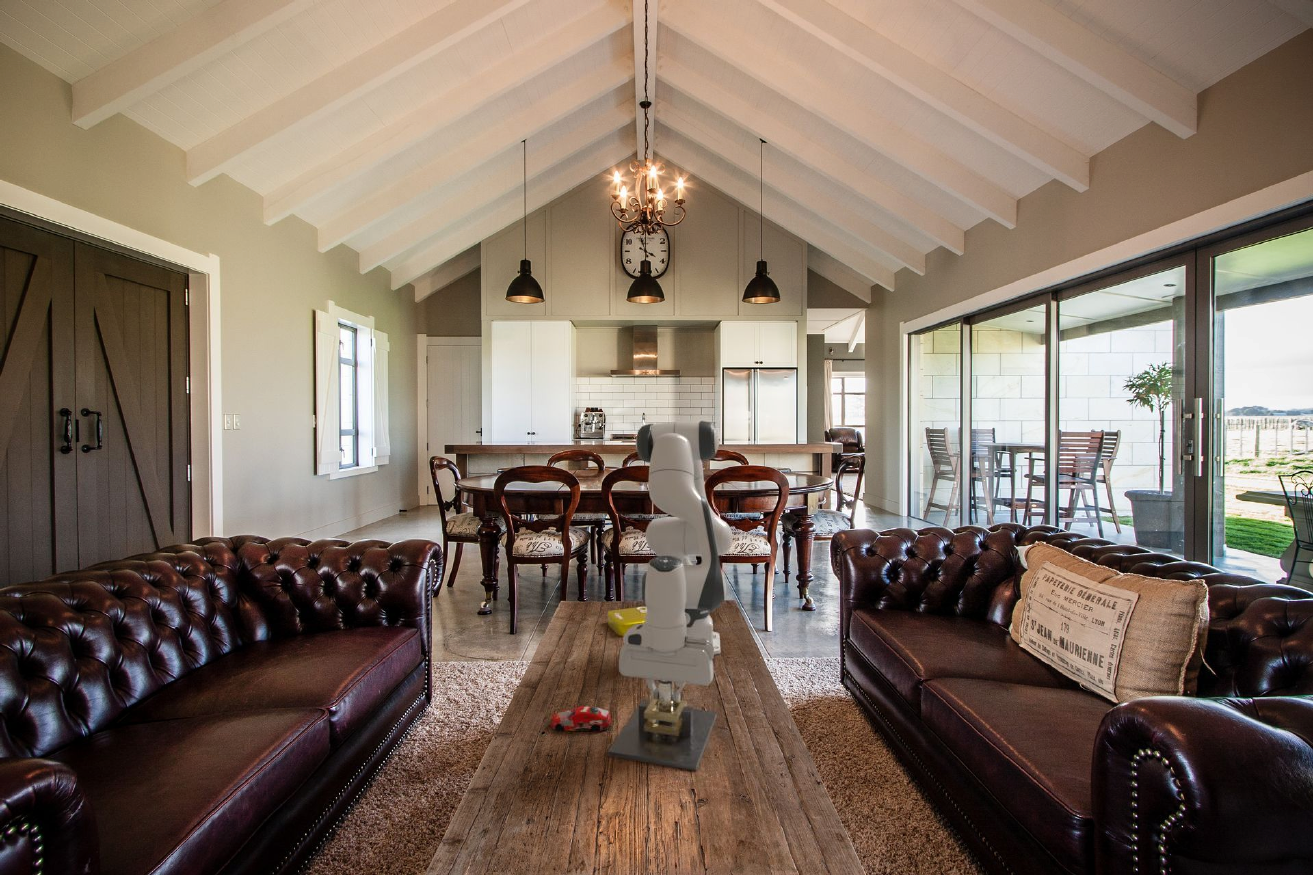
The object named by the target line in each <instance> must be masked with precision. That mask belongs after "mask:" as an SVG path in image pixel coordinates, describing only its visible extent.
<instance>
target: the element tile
mask: <svg viewBox="0 0 1313 875" xmlns="http://www.w3.org/2000/svg"><path fill="white" fill-rule="evenodd" d="M646 614H647V607H646V606H645V605H644V606H638V607H637V606H636V607H628V608H622V609H614V610H609V611H608V612H607V625H608V626H609V628H611V629H612V630H613V632H615V633H616V635H618V636H620V637H623V636H624V634H625V633H626V632H627V631H628V630H629V629H630V628H631V627H632V626H634V625H638V624H642V623H645V617H646Z"/></svg>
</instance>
